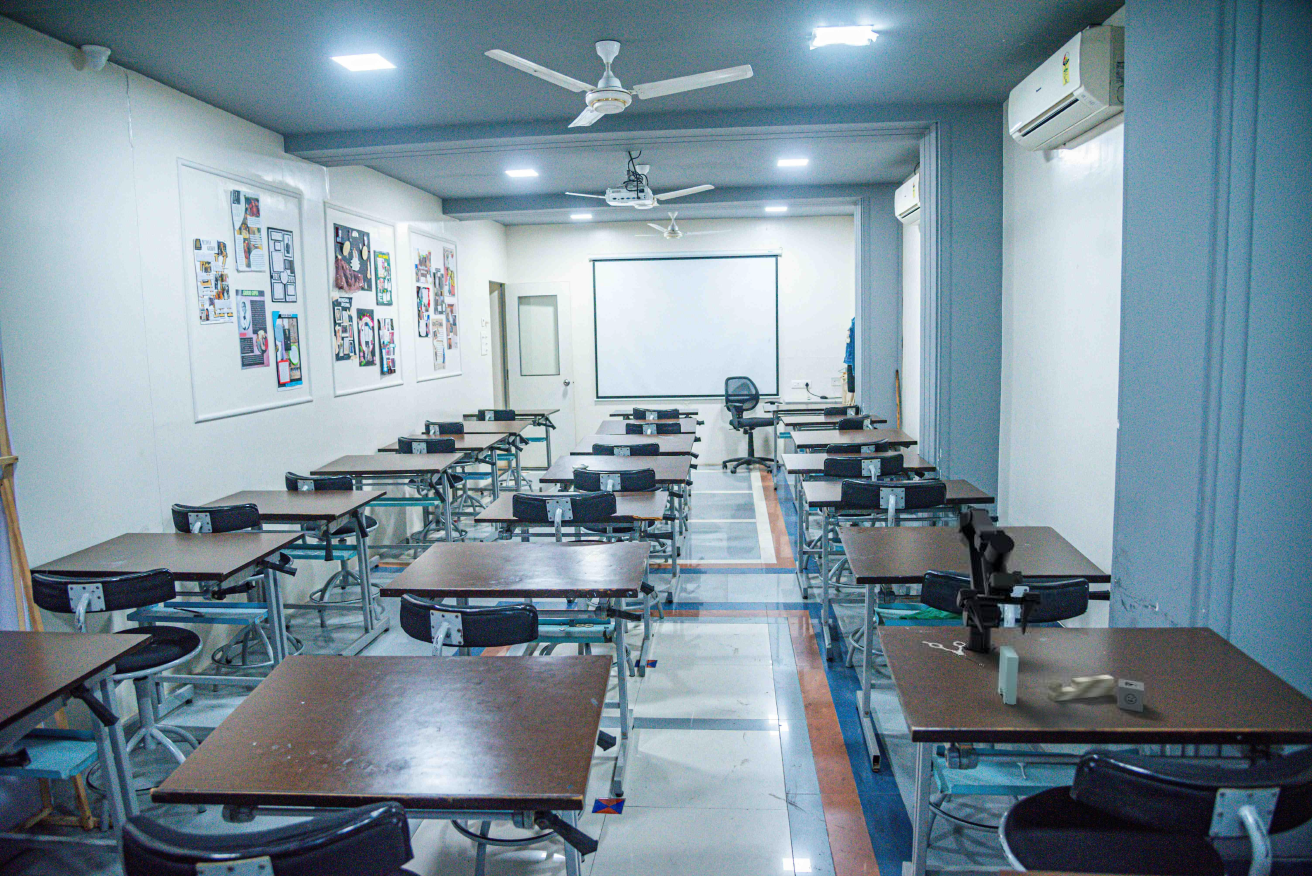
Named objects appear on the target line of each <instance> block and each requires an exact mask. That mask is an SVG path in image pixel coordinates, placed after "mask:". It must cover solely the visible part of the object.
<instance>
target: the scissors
mask: <svg viewBox="0 0 1312 876" xmlns="http://www.w3.org/2000/svg"><path fill="white" fill-rule="evenodd" d="M961 643H962V645H958V644H961ZM922 644H925V645H928V646H929V647H930V648H932V649H939V650H944V651H945V652H946V651H947V652H951V651H952V653H953V654H955V653H956V654H955V655H957V654H958V655H957V656H959V655H965V653H964V652H963V648H964V646H965V645H966V643H964V642H963V641H954V642H953V646H954V647H958V648H959V649H958V650H953V649H948V648H945V647H944V646H943V644H940V643H937V642H927V641H925V640H924V641H923V640H922ZM963 644H964V645H963ZM934 645H935V646H934ZM980 664H981V665H980V666H982V665H983V664H982V663H980Z"/></svg>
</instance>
